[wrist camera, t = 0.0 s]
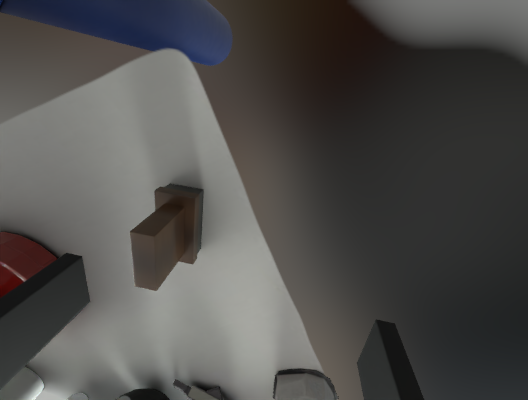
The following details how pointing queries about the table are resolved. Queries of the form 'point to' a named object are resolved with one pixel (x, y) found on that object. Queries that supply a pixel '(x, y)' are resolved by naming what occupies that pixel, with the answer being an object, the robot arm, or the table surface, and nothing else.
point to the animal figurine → (198, 392)
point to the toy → (143, 395)
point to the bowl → (20, 260)
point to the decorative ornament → (303, 386)
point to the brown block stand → (167, 235)
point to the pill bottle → (78, 397)
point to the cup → (22, 386)
